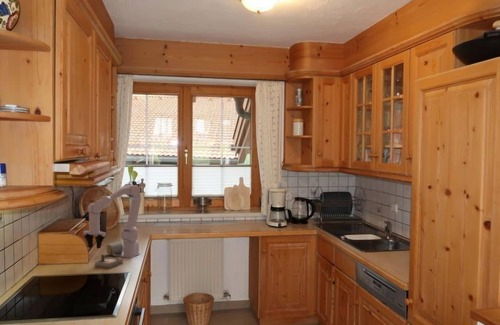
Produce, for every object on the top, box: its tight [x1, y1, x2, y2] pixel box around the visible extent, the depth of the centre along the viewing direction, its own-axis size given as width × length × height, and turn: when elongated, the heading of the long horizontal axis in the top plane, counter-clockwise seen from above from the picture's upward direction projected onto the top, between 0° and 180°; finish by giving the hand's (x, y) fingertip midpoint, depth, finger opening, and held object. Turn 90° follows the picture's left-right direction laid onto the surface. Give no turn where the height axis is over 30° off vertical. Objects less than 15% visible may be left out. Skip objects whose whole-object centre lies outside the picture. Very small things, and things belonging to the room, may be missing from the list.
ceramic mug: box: [106, 241, 123, 258], centre depth 236 cm, size 11×8×8 cm
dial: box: [100, 254, 116, 263], centre depth 215 cm, size 8×8×5 cm
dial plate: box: [94, 256, 123, 270], centre depth 215 cm, size 10×11×3 cm
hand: (94, 247), depth 217 cm, fingers open, 5 cm apart
